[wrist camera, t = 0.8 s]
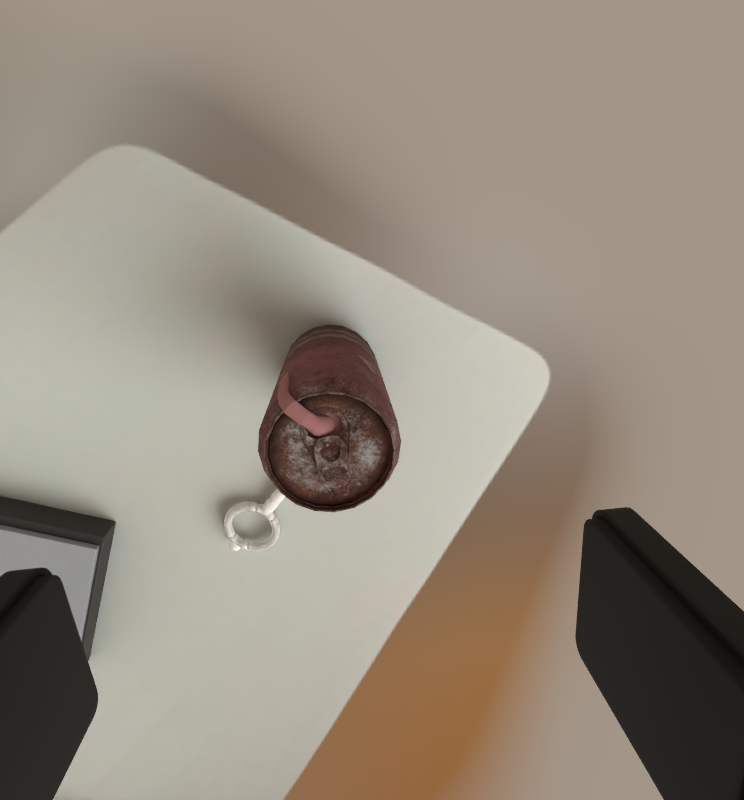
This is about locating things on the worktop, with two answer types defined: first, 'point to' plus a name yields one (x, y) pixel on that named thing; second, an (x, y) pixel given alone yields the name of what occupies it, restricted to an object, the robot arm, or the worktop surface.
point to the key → (263, 509)
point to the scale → (59, 554)
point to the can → (329, 423)
